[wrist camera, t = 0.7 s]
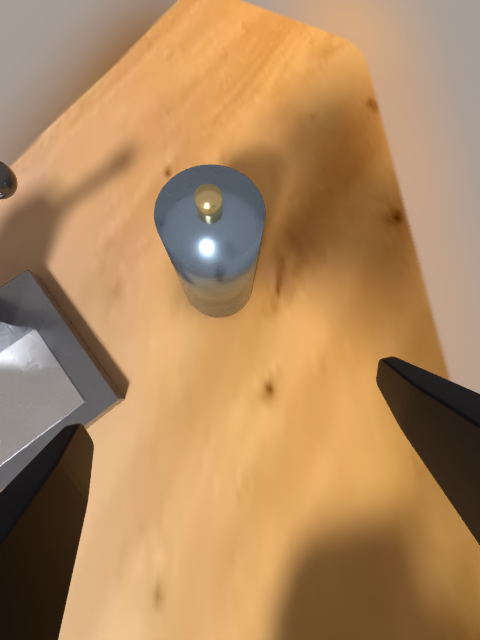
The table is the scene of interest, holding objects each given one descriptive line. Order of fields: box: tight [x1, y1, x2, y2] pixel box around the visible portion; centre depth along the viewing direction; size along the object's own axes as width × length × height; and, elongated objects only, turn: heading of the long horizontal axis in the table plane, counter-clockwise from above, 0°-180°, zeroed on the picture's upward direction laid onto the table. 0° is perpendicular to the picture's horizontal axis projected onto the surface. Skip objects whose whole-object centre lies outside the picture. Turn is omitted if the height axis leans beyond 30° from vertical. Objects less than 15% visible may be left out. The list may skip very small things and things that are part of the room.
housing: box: [154, 165, 265, 317], centre depth 19 cm, size 5×5×11 cm
